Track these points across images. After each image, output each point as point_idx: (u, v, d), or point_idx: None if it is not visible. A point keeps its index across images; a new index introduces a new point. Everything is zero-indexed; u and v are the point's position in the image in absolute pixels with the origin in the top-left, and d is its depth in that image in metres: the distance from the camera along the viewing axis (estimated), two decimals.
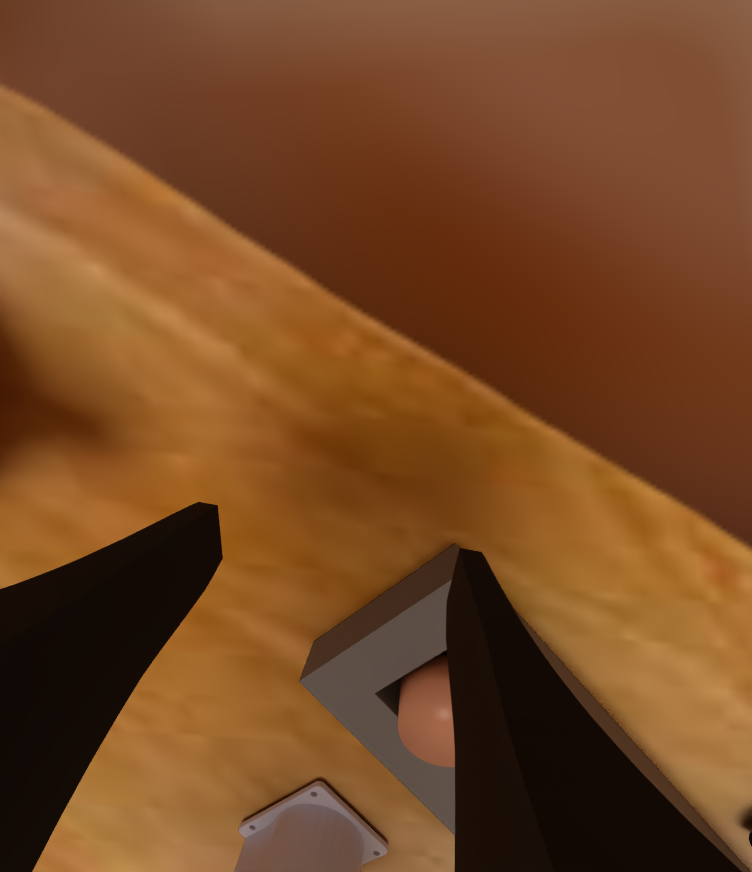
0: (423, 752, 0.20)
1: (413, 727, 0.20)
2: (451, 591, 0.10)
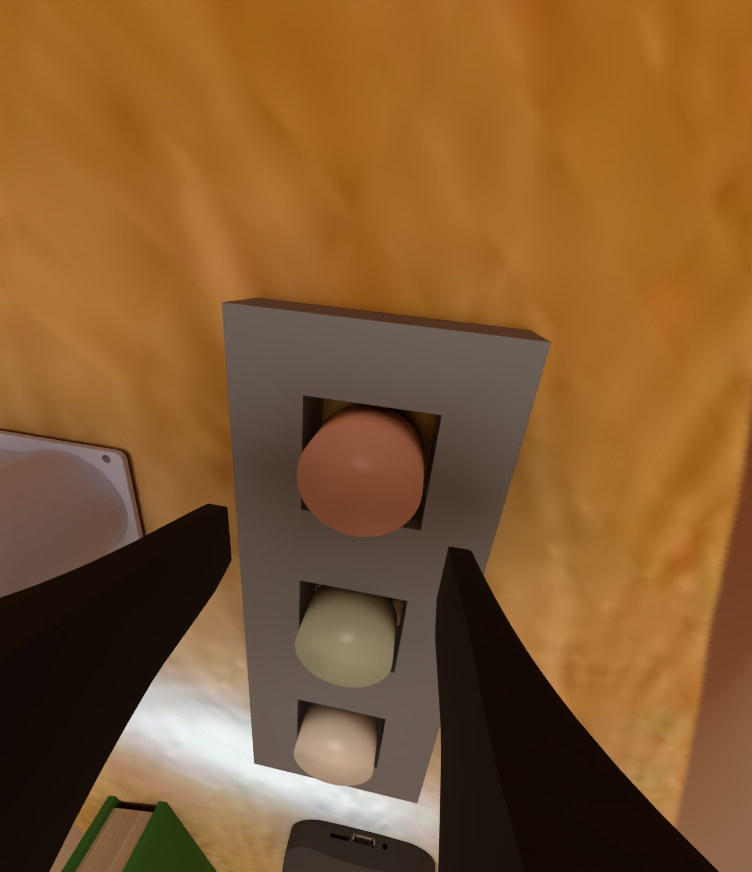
0: (309, 488, 0.15)
1: (328, 455, 0.14)
2: (440, 589, 0.10)
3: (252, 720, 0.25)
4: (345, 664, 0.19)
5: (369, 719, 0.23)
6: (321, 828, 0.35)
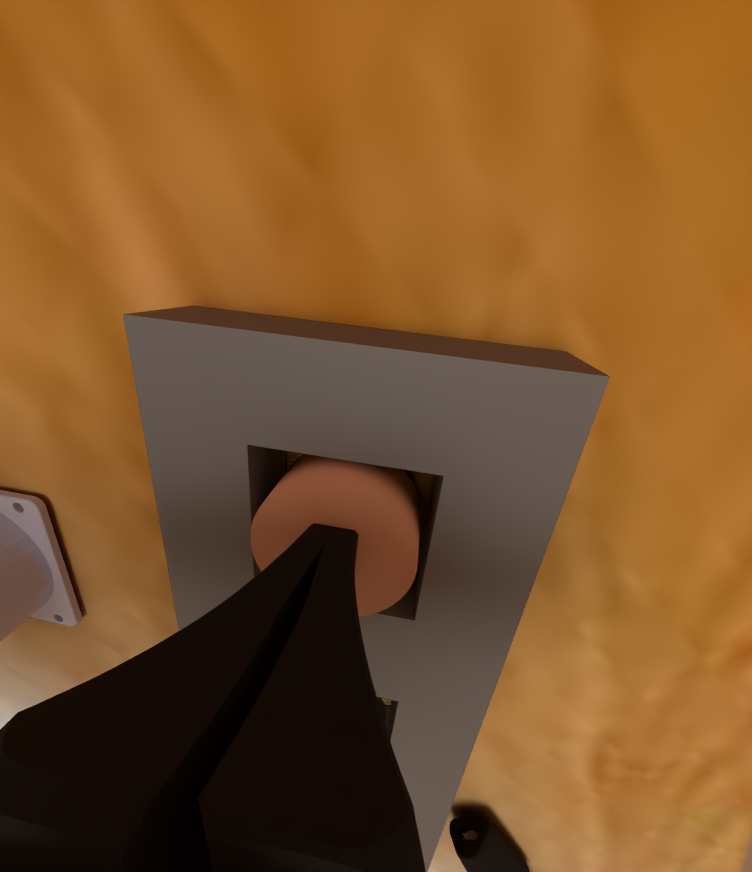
0: (268, 557, 0.11)
1: (290, 516, 0.10)
2: None
3: None
4: None
5: None
6: None
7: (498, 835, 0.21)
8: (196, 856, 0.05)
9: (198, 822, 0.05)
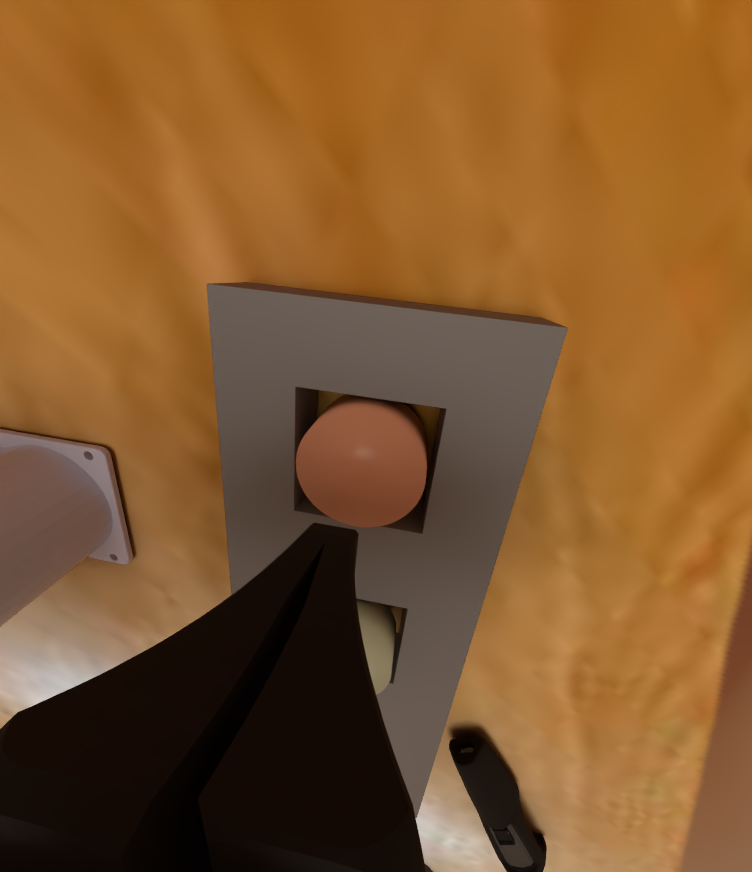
0: (309, 477, 0.14)
1: (328, 441, 0.14)
2: None
3: None
4: None
5: None
6: None
7: (491, 752, 0.24)
8: (196, 856, 0.05)
9: (198, 822, 0.05)
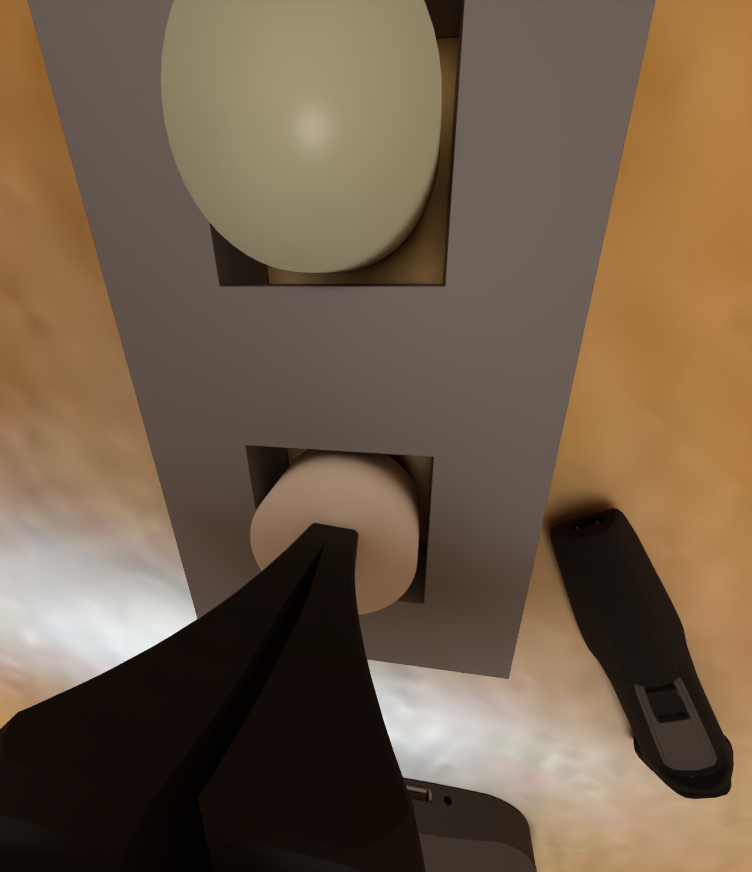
0: None
1: None
2: None
3: (175, 529, 0.13)
4: (308, 166, 0.07)
5: (400, 475, 0.12)
6: None
7: None
8: (196, 856, 0.05)
9: (198, 822, 0.05)
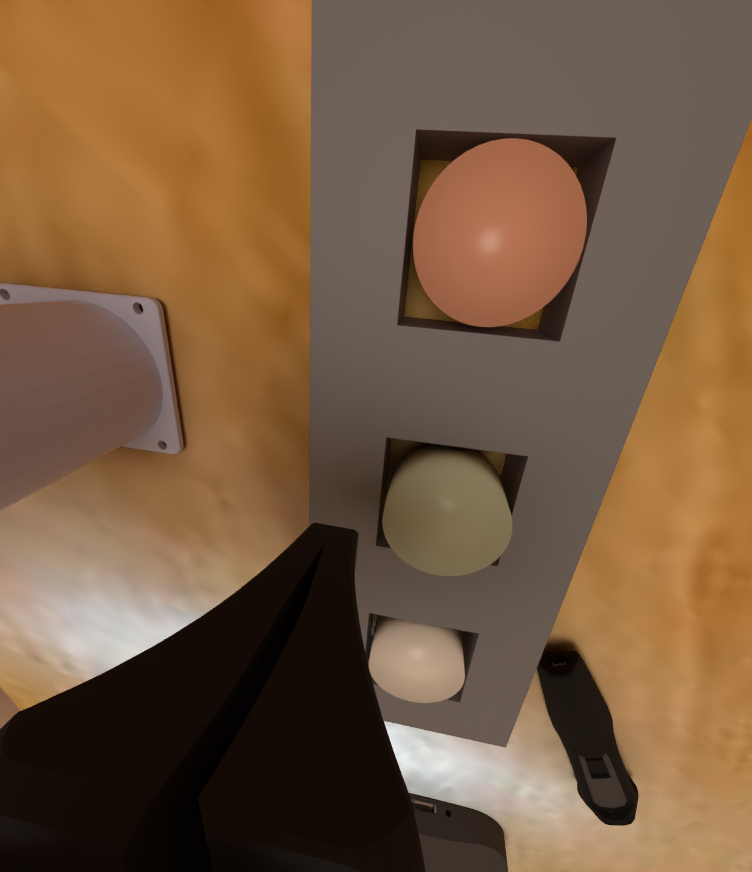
0: (429, 256, 0.11)
1: (460, 195, 0.11)
2: None
3: None
4: (447, 542, 0.15)
5: None
6: None
7: (586, 667, 0.21)
8: (196, 856, 0.05)
9: (198, 822, 0.05)
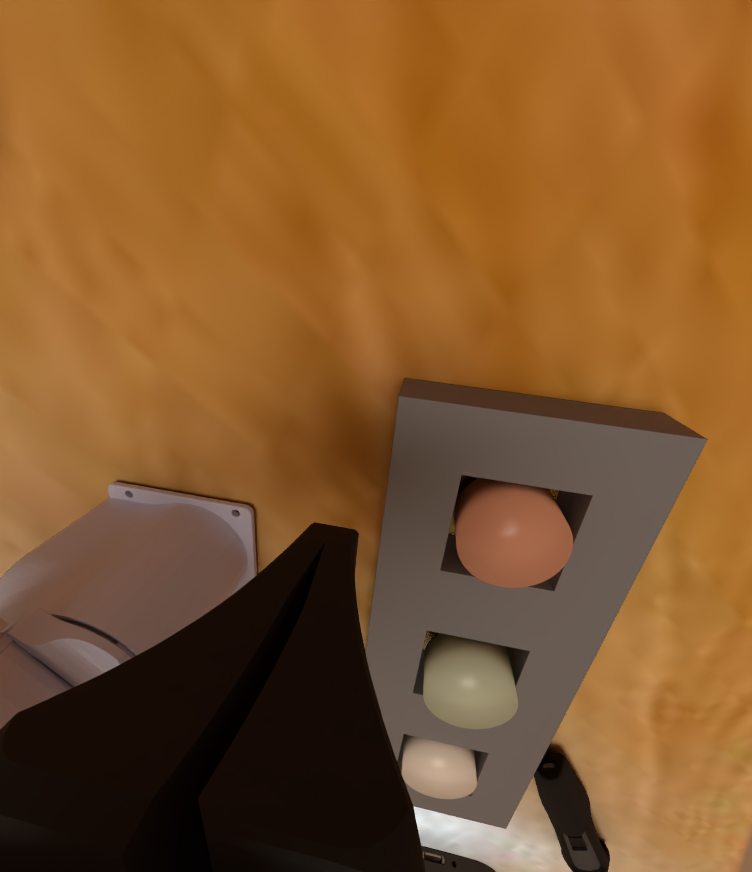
0: (467, 547, 0.17)
1: (490, 521, 0.16)
2: None
3: None
4: (470, 709, 0.20)
5: None
6: None
7: (570, 767, 0.27)
8: (196, 856, 0.05)
9: (198, 822, 0.05)
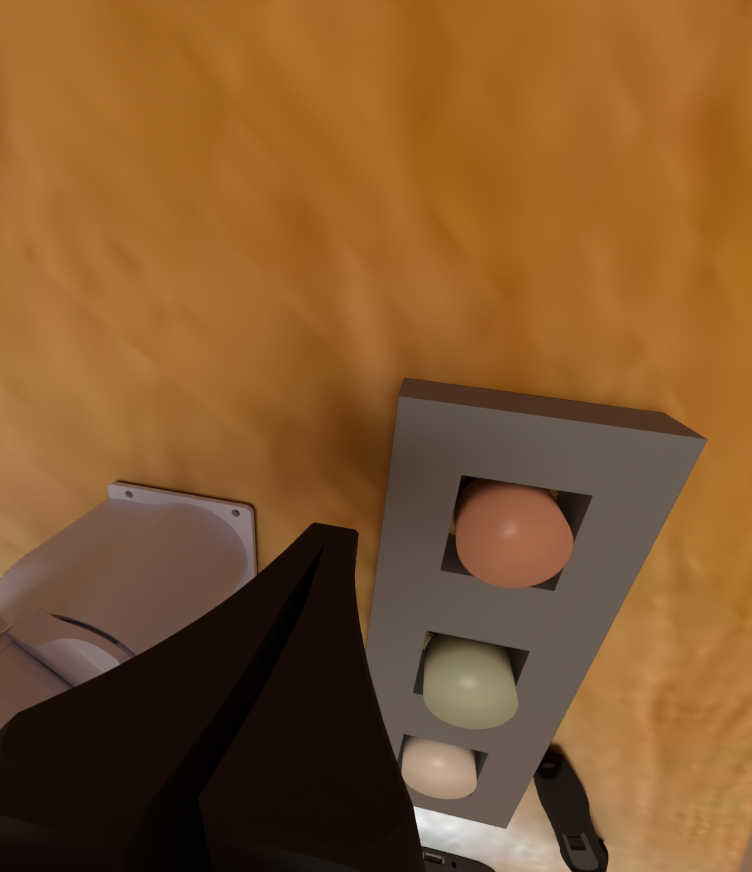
0: (467, 547, 0.17)
1: (490, 521, 0.16)
2: None
3: None
4: (470, 709, 0.20)
5: None
6: None
7: (569, 767, 0.27)
8: (196, 856, 0.05)
9: (198, 822, 0.05)
